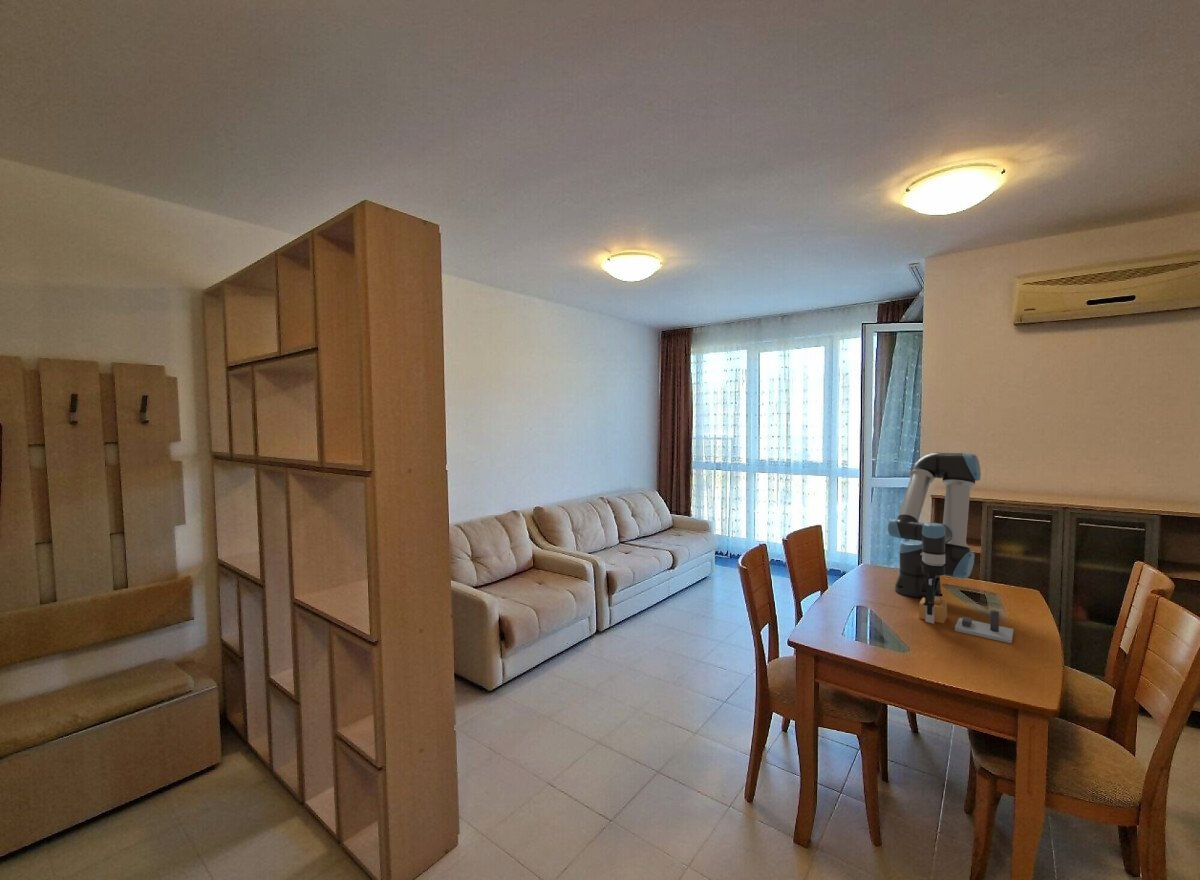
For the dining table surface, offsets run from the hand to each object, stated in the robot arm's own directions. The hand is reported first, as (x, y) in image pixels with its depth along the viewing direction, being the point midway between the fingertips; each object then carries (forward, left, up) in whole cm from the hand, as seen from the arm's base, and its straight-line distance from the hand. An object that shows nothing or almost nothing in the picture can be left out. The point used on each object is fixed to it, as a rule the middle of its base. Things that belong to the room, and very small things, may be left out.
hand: (932, 617), depth 191 cm
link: (0, 0, 0) cm, 0 cm away
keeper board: (+3, +16, 0) cm, 16 cm away
